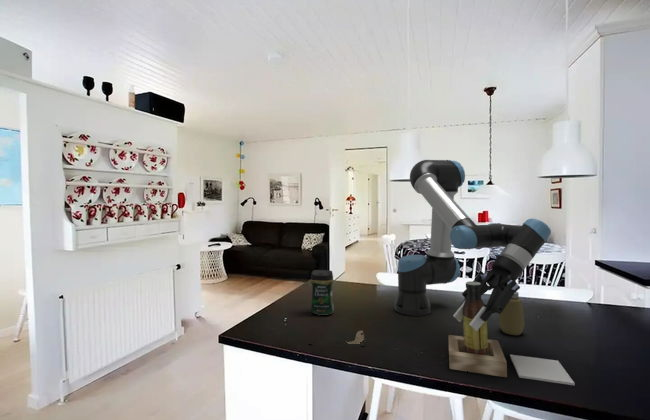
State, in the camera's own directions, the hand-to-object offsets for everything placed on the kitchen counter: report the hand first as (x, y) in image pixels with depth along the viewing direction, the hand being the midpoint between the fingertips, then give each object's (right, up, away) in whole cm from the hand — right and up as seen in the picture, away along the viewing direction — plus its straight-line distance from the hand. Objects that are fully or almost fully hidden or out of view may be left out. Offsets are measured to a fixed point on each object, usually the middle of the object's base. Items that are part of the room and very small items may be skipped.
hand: (464, 323), depth 90 cm
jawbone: (-35, -13, +18) cm, 42 cm away
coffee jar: (-41, -12, +45) cm, 62 cm away
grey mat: (+19, -11, -4) cm, 22 cm away
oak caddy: (+4, -11, +1) cm, 12 cm away
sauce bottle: (+4, -9, +1) cm, 9 cm away
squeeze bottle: (+26, -11, +21) cm, 35 cm away
